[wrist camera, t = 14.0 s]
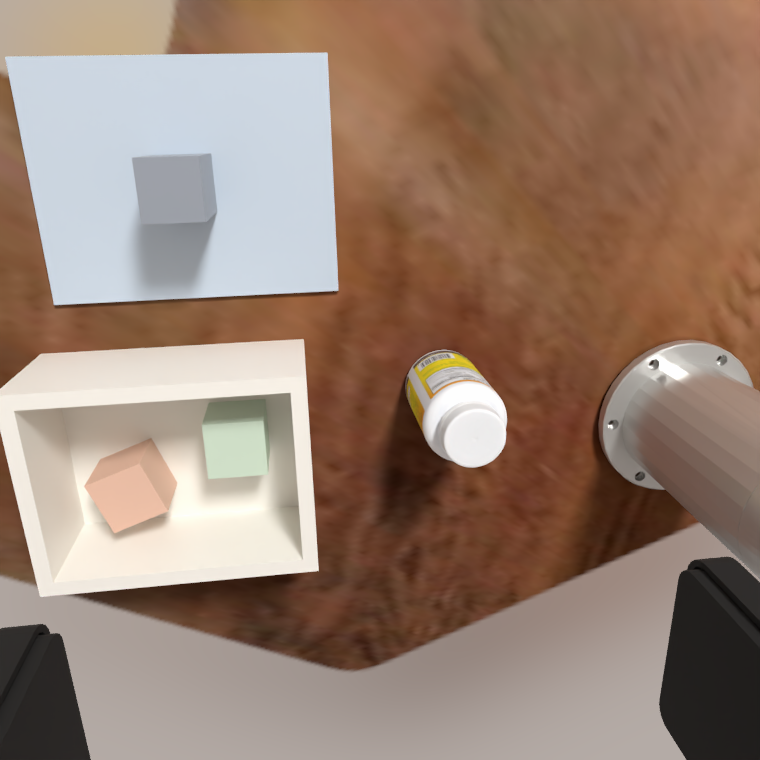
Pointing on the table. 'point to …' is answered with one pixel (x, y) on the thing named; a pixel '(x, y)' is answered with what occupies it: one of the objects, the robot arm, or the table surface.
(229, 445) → the sage block
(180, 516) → the storage box
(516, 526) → the table surface
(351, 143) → the table surface
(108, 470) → the terracotta block
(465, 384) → the supplement bottle
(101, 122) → the lid
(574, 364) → the table surface
